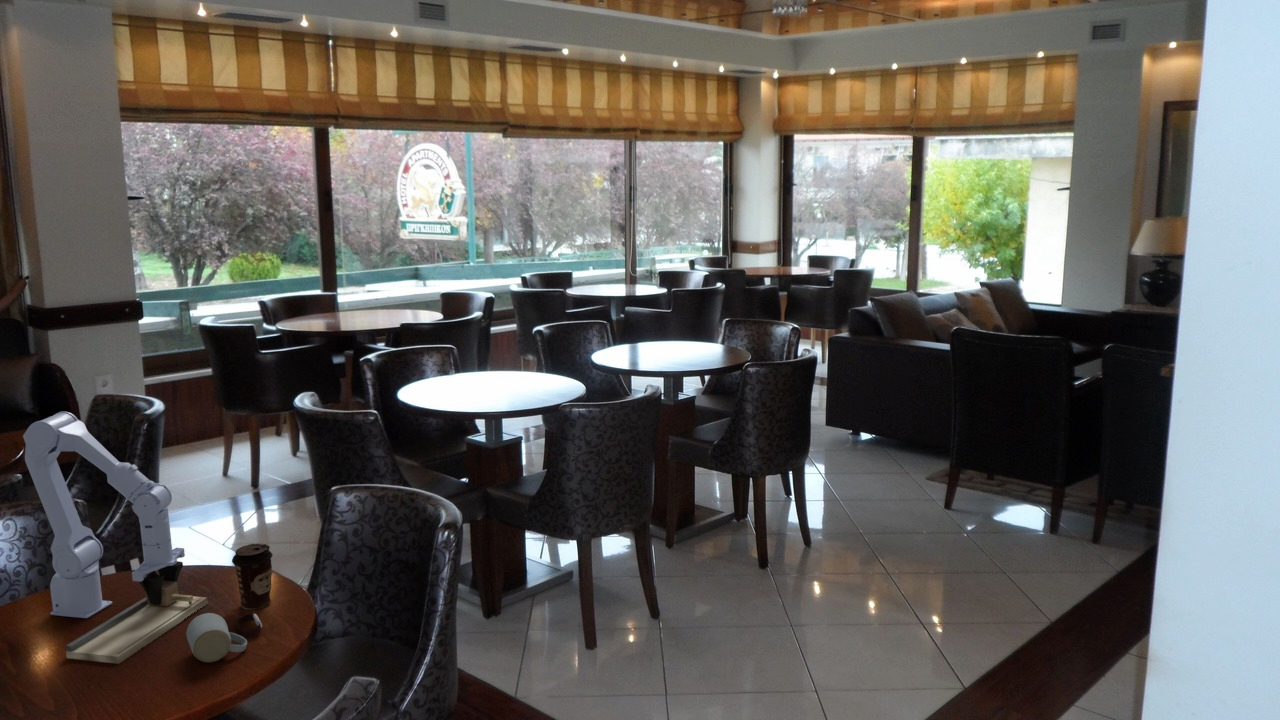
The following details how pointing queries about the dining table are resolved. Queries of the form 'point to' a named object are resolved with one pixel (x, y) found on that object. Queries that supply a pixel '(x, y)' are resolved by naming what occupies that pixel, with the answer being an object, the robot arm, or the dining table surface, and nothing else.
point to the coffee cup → (254, 575)
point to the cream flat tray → (130, 630)
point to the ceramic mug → (212, 638)
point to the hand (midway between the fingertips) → (162, 599)
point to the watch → (245, 619)
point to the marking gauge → (171, 594)
